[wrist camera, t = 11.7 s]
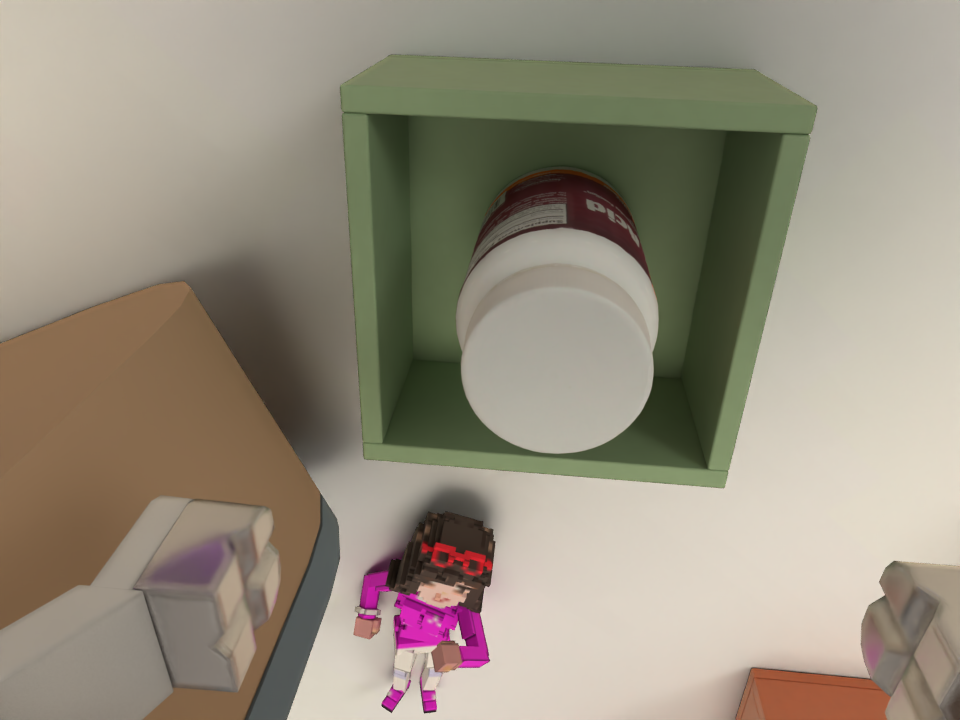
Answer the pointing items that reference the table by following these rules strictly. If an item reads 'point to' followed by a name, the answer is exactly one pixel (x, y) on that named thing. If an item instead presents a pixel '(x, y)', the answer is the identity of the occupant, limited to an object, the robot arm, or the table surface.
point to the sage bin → (653, 204)
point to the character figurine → (433, 602)
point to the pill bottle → (557, 314)
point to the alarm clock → (152, 472)
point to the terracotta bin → (810, 697)
